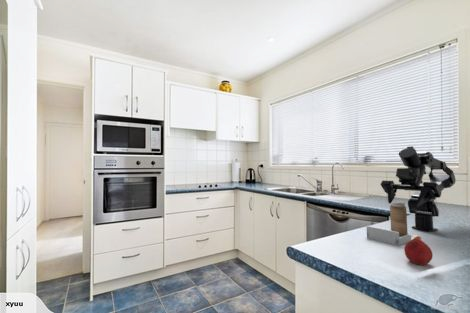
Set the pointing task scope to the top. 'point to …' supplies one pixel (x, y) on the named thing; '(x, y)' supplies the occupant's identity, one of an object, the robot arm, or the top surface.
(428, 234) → the top surface
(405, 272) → the top surface
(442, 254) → the top surface
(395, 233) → the lane rack
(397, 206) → the pepper mill
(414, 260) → the onion
